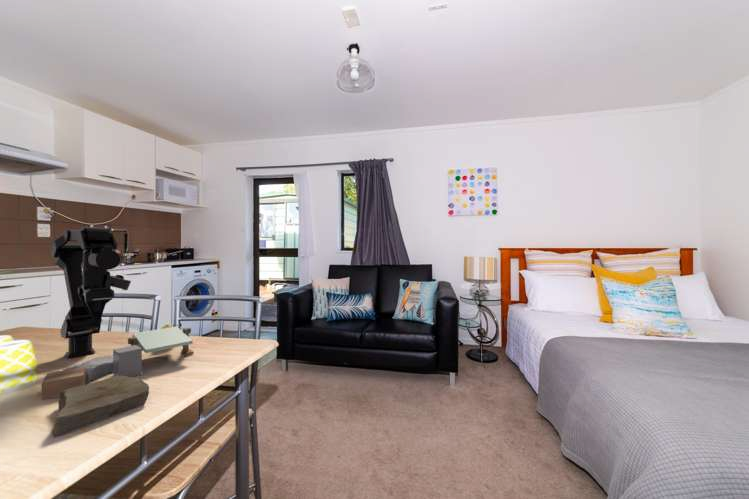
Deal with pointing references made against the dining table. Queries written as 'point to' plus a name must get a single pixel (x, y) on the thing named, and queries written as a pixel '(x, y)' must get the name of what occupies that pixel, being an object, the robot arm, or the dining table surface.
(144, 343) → the trapdoor
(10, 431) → the dining table surface
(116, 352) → the grey block
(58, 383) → the plinth
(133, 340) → the trapdoor frame
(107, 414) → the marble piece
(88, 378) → the stone block
